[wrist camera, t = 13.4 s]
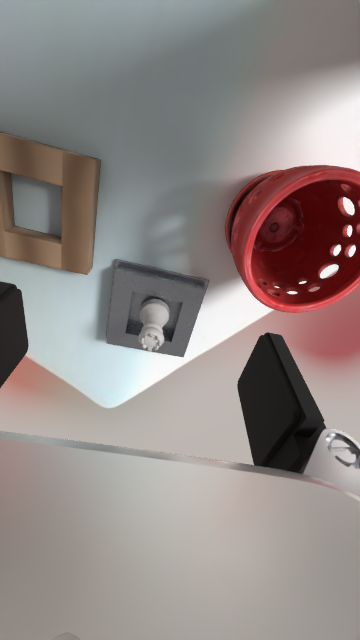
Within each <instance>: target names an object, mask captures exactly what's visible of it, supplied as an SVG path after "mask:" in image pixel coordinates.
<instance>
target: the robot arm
mask: <svg viewBox="0 0 360 640" xmlns="http://www.w3.org/2000/svg"><path fill="white" fill-rule="evenodd" d="M27 350H28V338H27V330H26V323H25V315H24V307H23V300H22V293H21V290H20V289H17V287H16V285H14V284H10V283H5V282H0V388H1V386H2V385H3V384H4V382H5V381H6V380H7V378H8V377H9V376H10V374H11V373H12V371H13V370H14V369H15V368H16V366H17V365H18V364H19V362H20V361H21V360H22V358H23V357H24V356H25V354H26V353H27ZM238 393H239V397H240V402H241V406H242V411H243V416H244V421H245V425H246V430H247V435H248V439H249V444H250V448H251V453H252V458H253V462H254V465H248V464H242V463H236V462H228V461H221V460H214V459H207V458H200V457H192V456H185V455H178V454H171V453H163V452H156V451H148V450H141V449H133V448H126V447H119V446H112V445H104V444H97V443H89V442H81V441H74V440H66V439H58V438H51V437H42V436H35V435H28V434H19V433H12V432H3V431H0V640H360V444H359V443H358V442H357V441H356V440H355V439H353V438H352V437H351V436H349V435H348V434H346V433H345V432H343V431H340V430H338V429H333V428H328V429H327V428H326V426H325V424H324V419H323V417H322V415H321V413H320V411H319V409H318V407H317V405H316V403H315V401H314V399H313V397H312V395H311V393H310V391H309V389H308V387H307V385H306V383H305V381H304V379H303V377H302V375H301V373H300V371H299V369H298V367H297V365H296V363H295V361H294V359H293V357H292V355H291V353H290V351H289V349H288V347H287V345H286V343H285V341H284V339H283V337H282V336H281V335H278V334H273V333H265V334H264V335H261V336H260V337H259V339H258V341H257V344H256V345H255V347H254V350H253V351H252V353H251V356H250V358H249V360H248V362H247V364H246V366H245V368H244V370H243V372H242V374H241V376H240V378H239V380H238Z"/></svg>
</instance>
